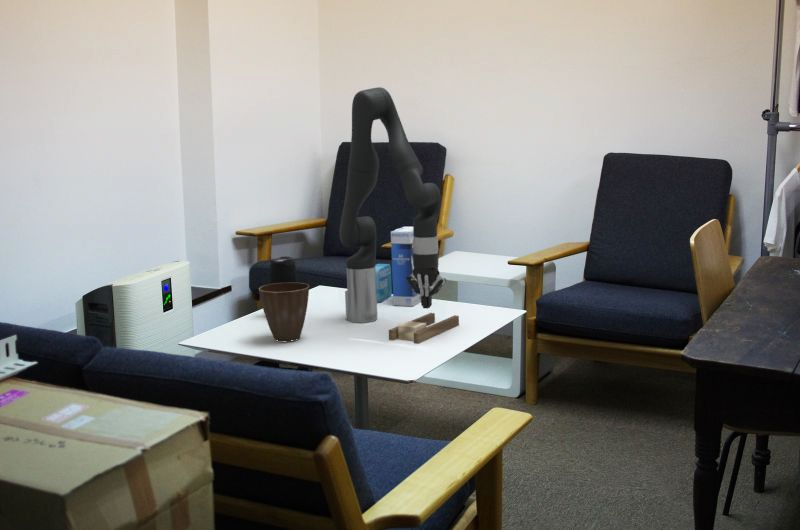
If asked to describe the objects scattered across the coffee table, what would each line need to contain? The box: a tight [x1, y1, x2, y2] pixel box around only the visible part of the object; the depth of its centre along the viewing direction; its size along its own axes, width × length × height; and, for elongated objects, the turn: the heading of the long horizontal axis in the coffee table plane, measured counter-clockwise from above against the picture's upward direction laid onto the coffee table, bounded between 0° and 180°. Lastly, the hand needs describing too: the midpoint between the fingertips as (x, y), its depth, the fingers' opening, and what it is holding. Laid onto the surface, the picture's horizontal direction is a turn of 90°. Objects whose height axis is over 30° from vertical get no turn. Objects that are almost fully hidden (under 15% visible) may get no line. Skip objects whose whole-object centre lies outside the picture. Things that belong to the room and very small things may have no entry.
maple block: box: [397, 320, 427, 342], centre depth 271 cm, size 6×6×4 cm
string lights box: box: [390, 226, 421, 307], centre depth 320 cm, size 13×8×26 cm, turn 160°
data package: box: [375, 263, 393, 303], centre depth 328 cm, size 12×4×12 cm, turn 159°
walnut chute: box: [388, 312, 460, 345], centre depth 277 cm, size 10×24×4 cm, turn 148°
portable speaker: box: [268, 255, 299, 285], centre depth 306 cm, size 9×9×20 cm
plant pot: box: [258, 282, 310, 342], centre depth 276 cm, size 15×15×16 cm
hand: (426, 307), depth 278 cm, fingers closed
